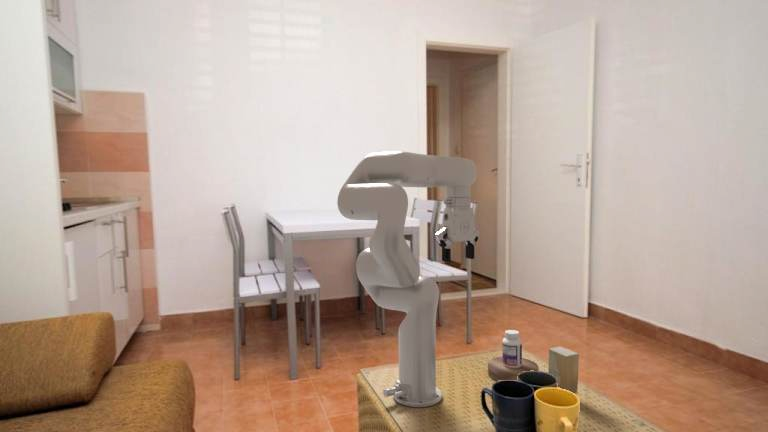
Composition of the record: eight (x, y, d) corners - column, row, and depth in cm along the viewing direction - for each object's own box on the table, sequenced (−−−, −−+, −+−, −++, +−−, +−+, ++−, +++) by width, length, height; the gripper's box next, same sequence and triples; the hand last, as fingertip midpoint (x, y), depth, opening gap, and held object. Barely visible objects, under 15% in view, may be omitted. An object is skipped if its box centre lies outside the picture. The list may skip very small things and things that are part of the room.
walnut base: (516, 389, 124) (516, 378, 124) (477, 373, 136) (477, 362, 136) (548, 377, 132) (548, 366, 132) (510, 362, 144) (510, 353, 144)
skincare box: (547, 394, 122) (547, 348, 121) (559, 390, 123) (559, 345, 123) (566, 404, 116) (566, 355, 115) (578, 400, 118) (579, 353, 117)
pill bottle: (512, 360, 138) (512, 327, 137) (525, 366, 133) (526, 332, 132) (498, 363, 135) (498, 330, 134) (512, 370, 130) (512, 335, 130)
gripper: (444, 204, 132) (445, 264, 133) (487, 202, 142) (487, 258, 143) (427, 203, 138) (428, 261, 139) (469, 202, 148) (470, 256, 149)
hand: (458, 260), depth 141 cm, fingers open, 9 cm apart
